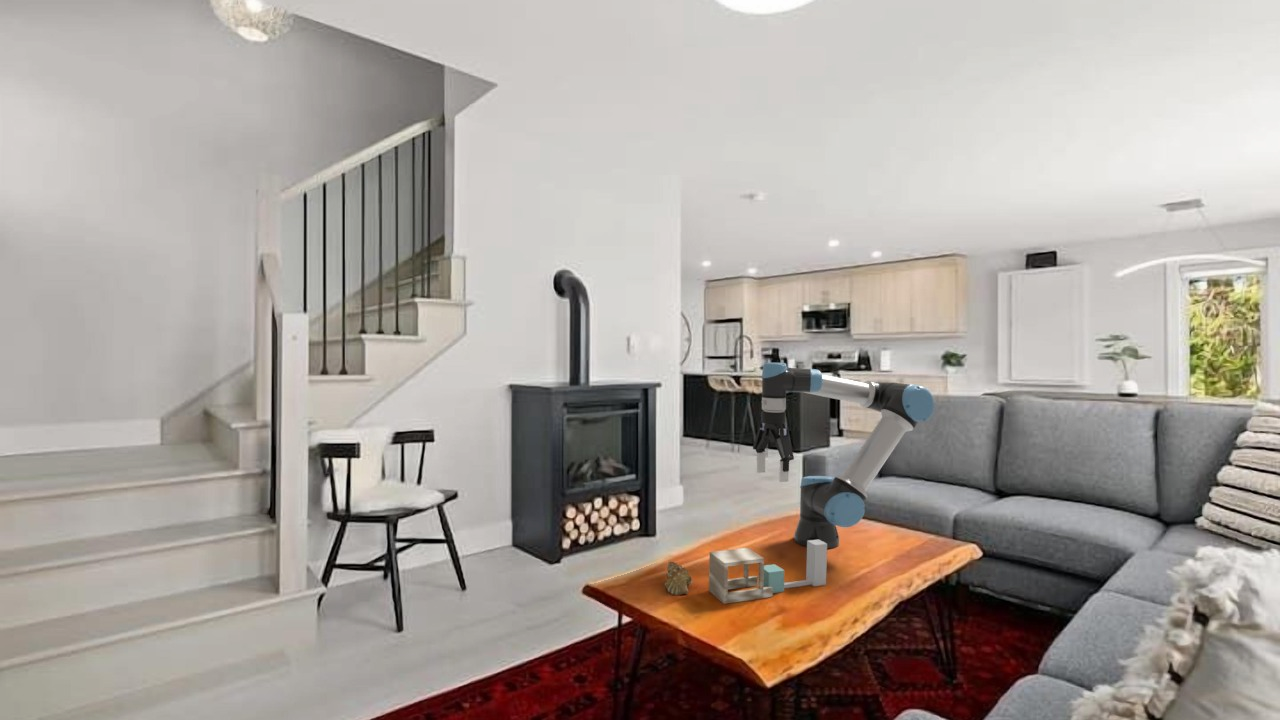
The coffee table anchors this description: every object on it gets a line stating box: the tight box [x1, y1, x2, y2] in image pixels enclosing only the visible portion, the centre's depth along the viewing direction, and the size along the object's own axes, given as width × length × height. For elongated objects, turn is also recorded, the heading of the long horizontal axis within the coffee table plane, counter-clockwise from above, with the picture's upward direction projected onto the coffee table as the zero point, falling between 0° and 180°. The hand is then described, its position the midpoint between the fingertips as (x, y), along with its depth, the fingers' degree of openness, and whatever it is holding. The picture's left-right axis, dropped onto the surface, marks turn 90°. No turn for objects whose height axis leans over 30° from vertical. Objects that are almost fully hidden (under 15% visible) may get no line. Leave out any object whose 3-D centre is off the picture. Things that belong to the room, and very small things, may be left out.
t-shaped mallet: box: [763, 539, 828, 594], centre depth 176 cm, size 20×5×12 cm, turn 110°
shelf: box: [708, 547, 774, 605], centre depth 170 cm, size 15×9×11 cm, turn 110°
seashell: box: [664, 561, 693, 596], centre depth 174 cm, size 9×8×10 cm
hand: (771, 476), depth 197 cm, fingers open, 13 cm apart
